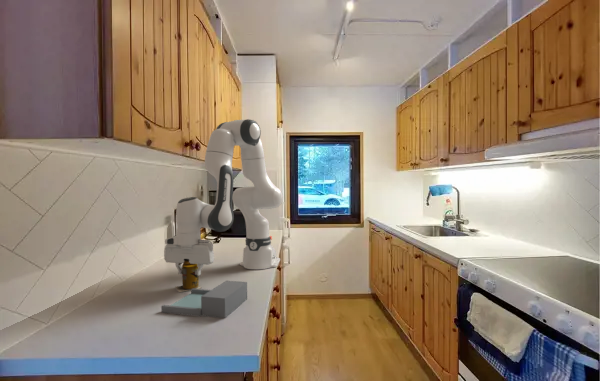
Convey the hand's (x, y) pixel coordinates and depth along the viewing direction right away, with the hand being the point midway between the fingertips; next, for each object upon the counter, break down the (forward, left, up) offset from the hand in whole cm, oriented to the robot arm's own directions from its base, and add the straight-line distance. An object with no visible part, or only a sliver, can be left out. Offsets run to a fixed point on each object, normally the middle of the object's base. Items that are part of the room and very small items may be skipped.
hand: (189, 274), depth 122 cm
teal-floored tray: (+14, +16, -5) cm, 22 cm away
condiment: (0, -1, -6) cm, 6 cm away
